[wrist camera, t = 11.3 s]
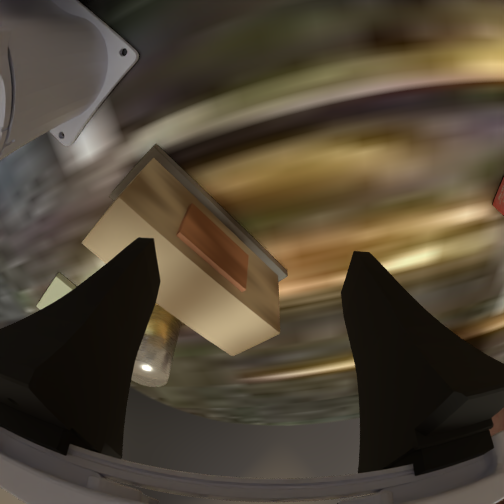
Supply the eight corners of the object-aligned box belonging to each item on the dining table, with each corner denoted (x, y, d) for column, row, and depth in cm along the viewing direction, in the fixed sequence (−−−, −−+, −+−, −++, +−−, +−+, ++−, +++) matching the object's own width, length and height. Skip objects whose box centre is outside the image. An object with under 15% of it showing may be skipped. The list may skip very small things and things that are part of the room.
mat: (38, 302, 28) (36, 306, 27) (59, 272, 25) (56, 276, 24) (108, 353, 32) (107, 358, 31) (139, 333, 29) (138, 338, 28)
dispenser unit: (112, 192, 20) (71, 242, 15) (156, 143, 18) (116, 183, 13) (237, 300, 26) (232, 361, 21) (287, 271, 23) (291, 333, 19)
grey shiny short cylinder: (131, 316, 28) (112, 368, 23) (155, 298, 26) (136, 354, 21) (163, 338, 29) (150, 390, 24) (189, 323, 28) (177, 379, 23)
